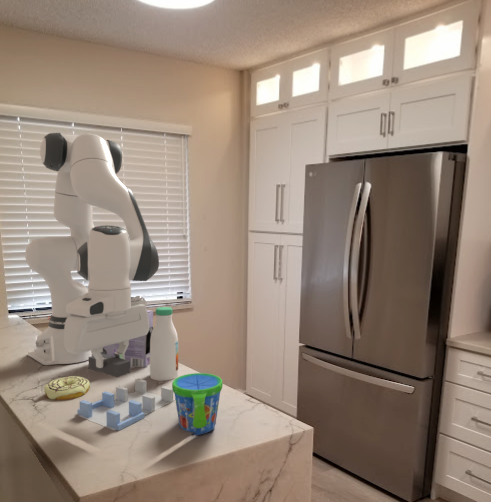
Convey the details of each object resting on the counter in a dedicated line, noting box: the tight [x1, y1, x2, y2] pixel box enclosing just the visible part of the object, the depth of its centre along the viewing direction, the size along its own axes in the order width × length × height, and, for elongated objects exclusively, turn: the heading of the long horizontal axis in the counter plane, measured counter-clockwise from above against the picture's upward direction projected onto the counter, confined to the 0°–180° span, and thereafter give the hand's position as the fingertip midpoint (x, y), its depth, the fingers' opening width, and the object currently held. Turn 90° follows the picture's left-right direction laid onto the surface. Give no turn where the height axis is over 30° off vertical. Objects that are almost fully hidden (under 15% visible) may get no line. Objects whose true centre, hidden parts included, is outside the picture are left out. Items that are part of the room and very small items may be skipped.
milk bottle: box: [149, 306, 179, 382], centre depth 118 cm, size 8×8×20 cm
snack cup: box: [171, 372, 224, 436], centre depth 90 cm, size 16×10×10 cm
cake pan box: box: [92, 309, 154, 370], centre depth 128 cm, size 19×5×18 cm, turn 77°
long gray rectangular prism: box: [88, 353, 131, 378], centre depth 92 cm, size 10×3×3 cm, turn 57°
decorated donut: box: [43, 375, 90, 401], centre depth 106 cm, size 10×11×4 cm
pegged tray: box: [77, 378, 176, 431], centre depth 97 cm, size 14×18×4 cm
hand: (110, 363), depth 92 cm, fingers closed on long gray rectangular prism, 3 cm apart
